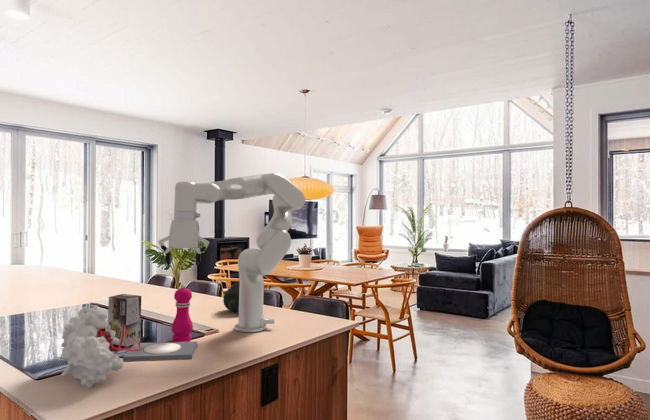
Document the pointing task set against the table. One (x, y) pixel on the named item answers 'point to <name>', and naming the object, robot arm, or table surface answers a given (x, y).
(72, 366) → the lumpy white molecule
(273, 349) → the table surface
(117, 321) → the electrical box
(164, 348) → the board
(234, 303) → the squash
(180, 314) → the pepper mill
